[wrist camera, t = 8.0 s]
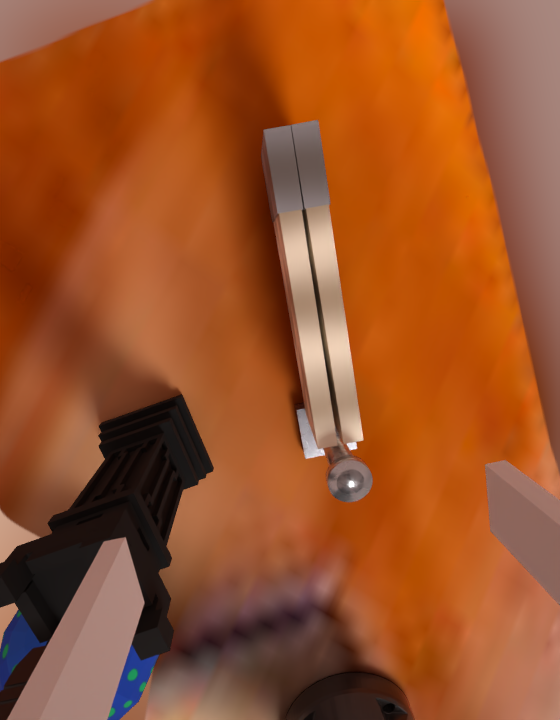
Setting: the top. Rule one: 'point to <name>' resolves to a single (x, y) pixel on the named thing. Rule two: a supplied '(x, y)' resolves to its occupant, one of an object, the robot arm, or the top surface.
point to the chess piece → (115, 523)
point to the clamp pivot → (337, 463)
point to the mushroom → (22, 641)
